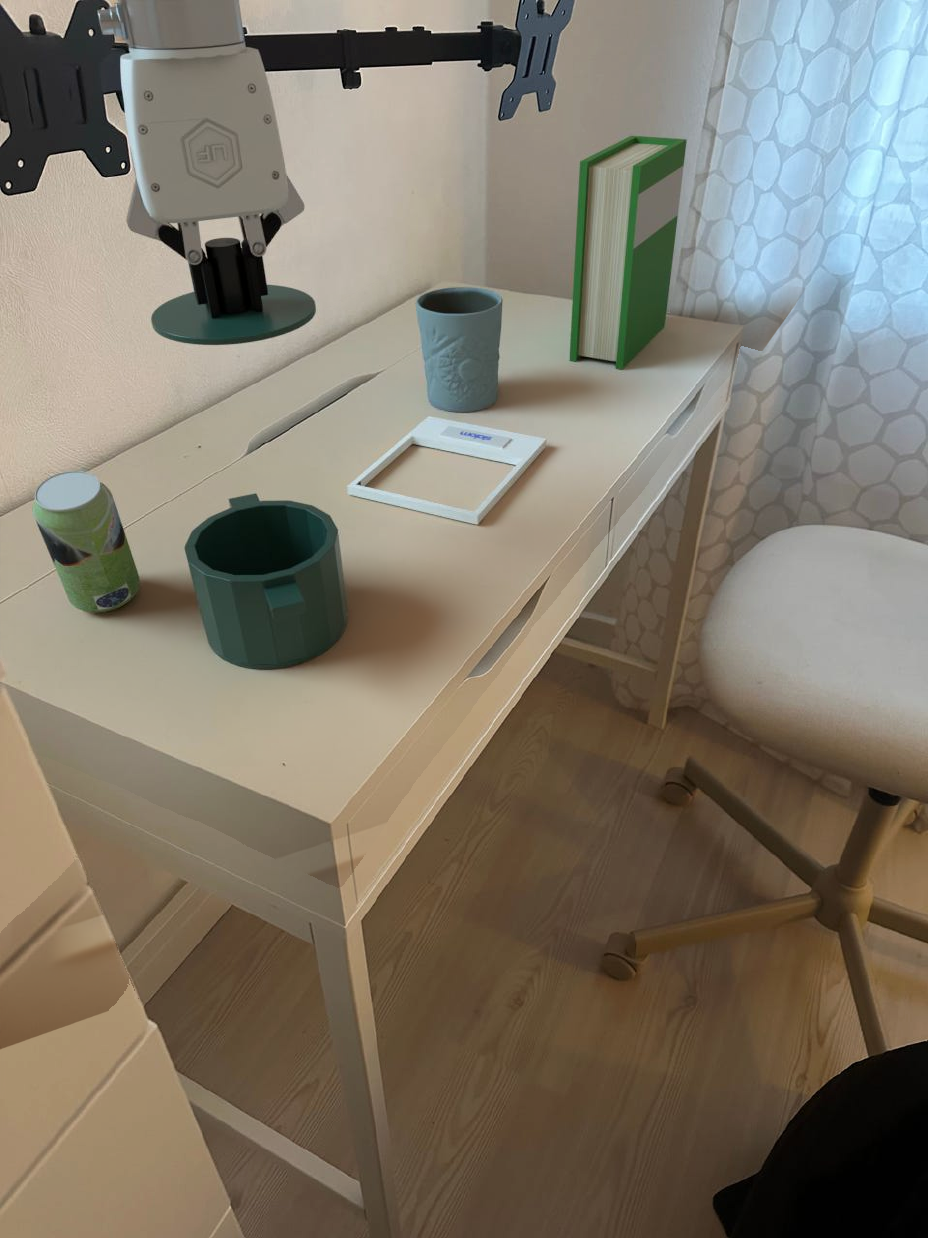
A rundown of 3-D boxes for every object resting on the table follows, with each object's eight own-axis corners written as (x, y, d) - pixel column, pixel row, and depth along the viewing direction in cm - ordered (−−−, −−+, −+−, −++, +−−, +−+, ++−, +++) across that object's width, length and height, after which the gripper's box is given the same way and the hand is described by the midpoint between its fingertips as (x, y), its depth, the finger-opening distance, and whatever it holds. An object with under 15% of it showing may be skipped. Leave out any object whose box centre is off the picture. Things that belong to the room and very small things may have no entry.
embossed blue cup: (478, 421, 105) (477, 319, 97) (404, 405, 108) (398, 306, 101) (515, 389, 112) (517, 292, 104) (445, 375, 116) (442, 280, 108)
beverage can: (136, 571, 81) (101, 451, 74) (152, 615, 76) (115, 491, 69) (64, 590, 79) (20, 469, 72) (74, 636, 74) (28, 510, 66)
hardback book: (622, 369, 116) (640, 166, 101) (569, 360, 119) (580, 161, 104) (664, 326, 128) (686, 139, 114) (615, 318, 131) (631, 135, 116)
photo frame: (546, 437, 98) (477, 514, 85) (546, 446, 99) (477, 524, 86) (428, 414, 103) (346, 484, 91) (429, 423, 104) (348, 494, 91)
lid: (165, 364, 64) (144, 276, 60) (145, 310, 73) (127, 231, 70) (335, 337, 68) (326, 253, 64) (296, 289, 77) (286, 213, 73)
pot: (226, 707, 67) (204, 617, 61) (192, 586, 79) (171, 502, 74) (374, 667, 70) (365, 578, 65) (319, 556, 83) (307, 474, 77)
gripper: (55, 39, 53) (131, 341, 65) (319, 24, 58) (347, 308, 69) (51, 29, 59) (122, 309, 70) (292, 17, 64) (322, 281, 75)
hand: (233, 306), depth 70 cm, fingers closed on lid, 2 cm apart
